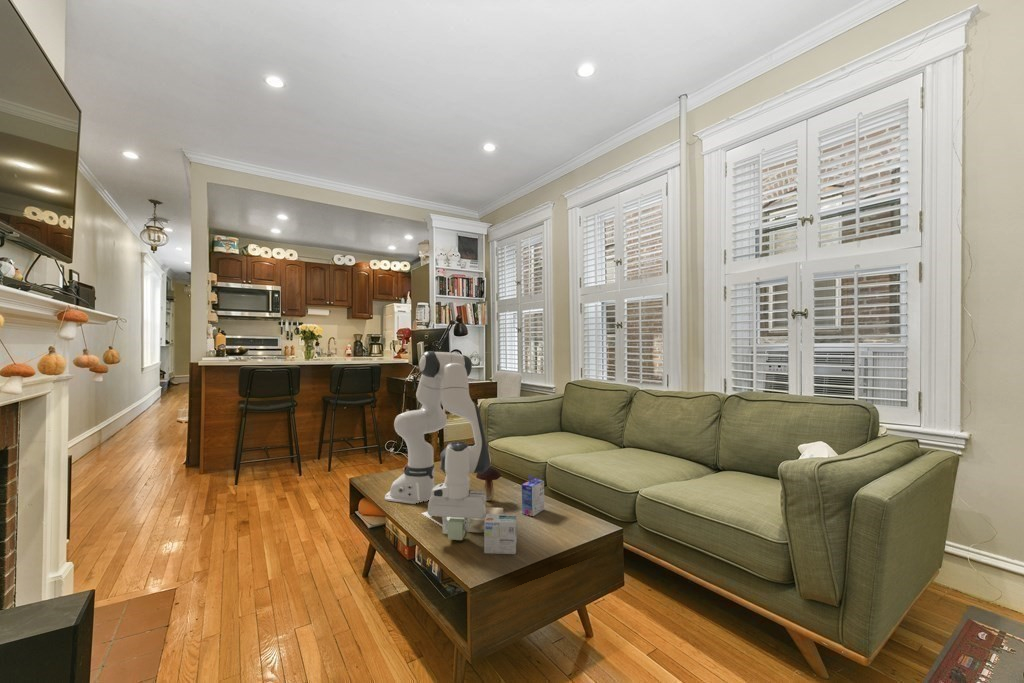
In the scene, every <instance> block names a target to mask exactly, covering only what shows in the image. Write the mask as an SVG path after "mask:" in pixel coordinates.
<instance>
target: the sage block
mask: <svg viewBox="0 0 1024 683" xmlns="http://www.w3.org/2000/svg"><path fill="white" fill-rule="evenodd" d="M465 521H466V518H458V517H451V518H450V520H449V521H448V534H447V540H453V541H455V540H456V541H463V540H464V537H465V536H466V530H463V525H464V523H465Z"/></svg>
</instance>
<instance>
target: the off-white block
mask: <svg viewBox="0 0 1024 683" xmlns="http://www.w3.org/2000/svg"><path fill="white" fill-rule="evenodd" d="M450 518H451V517H447V518H446V519H447V521H449V520H450ZM442 525H443V527H442V535H443V534H444V535H448V529H445V524H444V522H443V521H442Z"/></svg>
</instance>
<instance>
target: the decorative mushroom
mask: <svg viewBox="0 0 1024 683" xmlns="http://www.w3.org/2000/svg"><path fill="white" fill-rule="evenodd" d="M475 477H476V479H479V480H480V481H485V483H484V488H483V492H484V493H485V494H486V502H491V501H493V499H494V493H495V491H494V482H493V481H497V480H498V479H500V478H501V477H502V474H501V472H500V471H499V470H498V469H497V468H495V467H493V466H491V465H490V467H489V468H488V469H487V470H486V471H485V472H484V473H476V476H475Z"/></svg>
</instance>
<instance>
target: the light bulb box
mask: <svg viewBox="0 0 1024 683" xmlns="http://www.w3.org/2000/svg"><path fill="white" fill-rule="evenodd" d="M517 530H518V529H517V514H516V513H515V514H511V513H510V514H507V513H506V514H504V513H503V514H486V517H485V521H484V534H483V541H484V543H483V549H484V550H483V553H484V554H498V555H499V554H501V555H502V554H503V555H505V554H506V555H516V553H517Z"/></svg>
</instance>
